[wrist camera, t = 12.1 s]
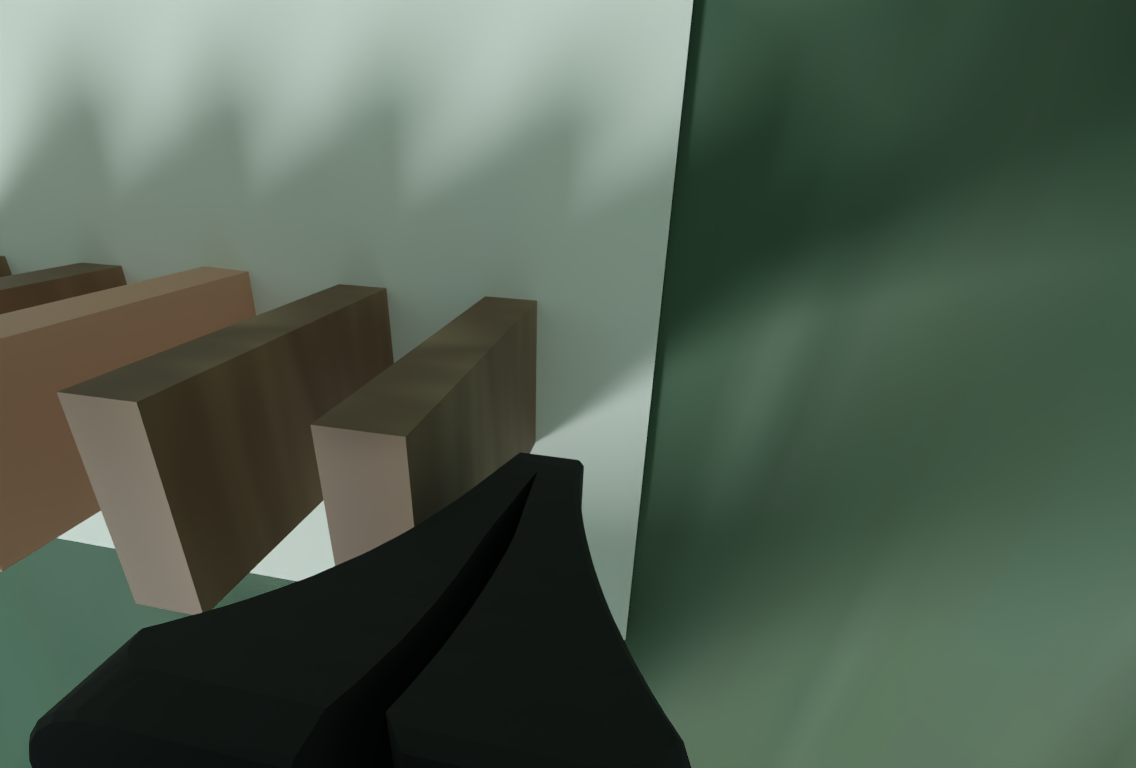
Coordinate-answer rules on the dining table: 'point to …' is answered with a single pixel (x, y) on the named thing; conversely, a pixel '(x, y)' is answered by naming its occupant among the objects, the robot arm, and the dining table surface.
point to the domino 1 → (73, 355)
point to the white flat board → (374, 184)
